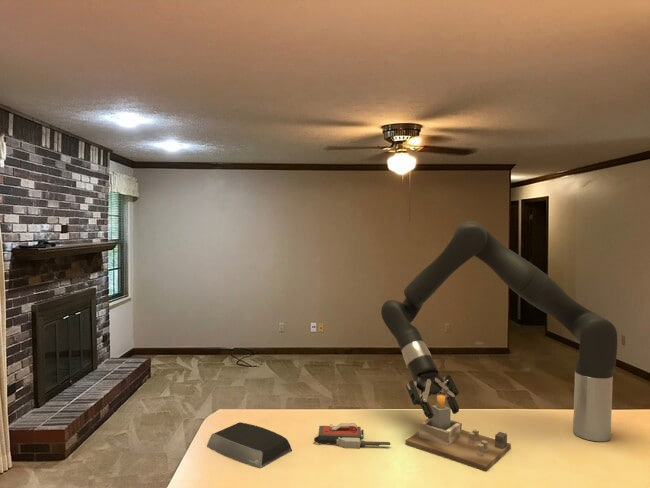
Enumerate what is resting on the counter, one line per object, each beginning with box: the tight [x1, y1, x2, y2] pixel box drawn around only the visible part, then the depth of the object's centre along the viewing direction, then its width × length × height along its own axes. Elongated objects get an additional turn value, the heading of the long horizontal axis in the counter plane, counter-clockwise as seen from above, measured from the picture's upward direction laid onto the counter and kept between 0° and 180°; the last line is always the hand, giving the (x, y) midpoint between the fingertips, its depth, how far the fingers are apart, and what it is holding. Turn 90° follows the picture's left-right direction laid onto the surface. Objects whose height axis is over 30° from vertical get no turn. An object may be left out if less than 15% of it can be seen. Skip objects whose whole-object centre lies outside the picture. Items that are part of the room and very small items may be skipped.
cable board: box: [404, 418, 512, 472], centre depth 133 cm, size 16×22×5 cm
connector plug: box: [430, 394, 452, 430], centre depth 136 cm, size 4×4×11 cm
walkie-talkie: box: [313, 422, 391, 449], centre depth 136 cm, size 9×4×20 cm
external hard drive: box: [206, 422, 293, 469], centre depth 131 cm, size 13×19×4 cm
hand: (444, 414), depth 135 cm, fingers open, 8 cm apart
